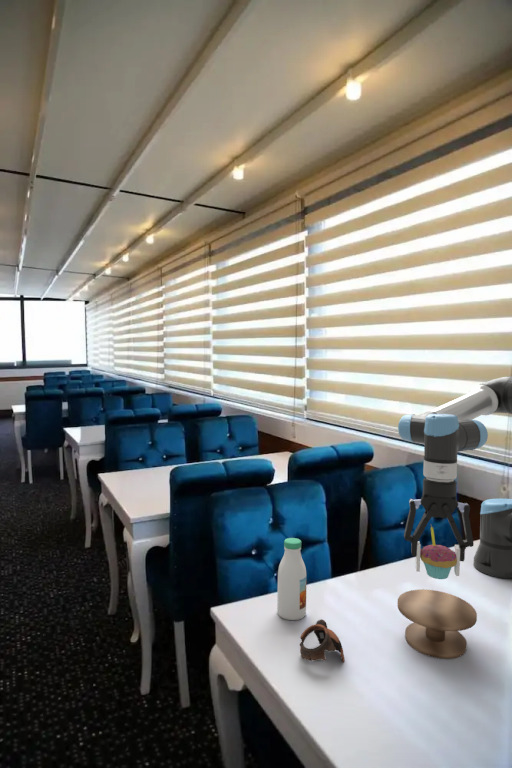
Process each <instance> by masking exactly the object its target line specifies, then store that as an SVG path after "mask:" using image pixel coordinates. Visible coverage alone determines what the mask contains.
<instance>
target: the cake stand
mask: <svg viewBox="0 0 512 768" xmlns="http://www.w3.org/2000/svg"><path fill="white" fill-rule="evenodd" d="M397 609H398V611H399V612H400V614H401V615H402V616H403V617H404V618H406V619H407V620H409V621H411V622H412V623H409V625H407V626H406V628H405V631H404V637H405V640H406V643H407V644H408V645H409V646H410V647H411V648H412V649H413V650H415V651H417V652H418V653H421V654H422V655H425V656H427V657H432V658H435V659H441V660H453V659H458V658H460V657H462V656H463V655H464V654H466V652H467V648H468V647H467V639H466V638H465V636H464V635H463V634H462V633H461V631H465V630H469V629H471V628H472V627H474V626H475V625H476V623H477V621H478V620H477V619H478V613H477V610H476V609H475V608H474V607H473V606H472V605H471V604H470V603H469V602H467V601H466V599H465V600H464V599H462V598H461V597H459V596H457V595H453V594H452V593H447V592H443V591H441V590H440V591H439V590H434V589H424V588H423V589H412V590H409V591H405V592H403V593H401V594H400V595H399V596H398V597H397Z"/></svg>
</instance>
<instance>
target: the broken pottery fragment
mask: <svg viewBox="0 0 512 768" xmlns="http://www.w3.org/2000/svg"><path fill="white" fill-rule="evenodd" d="M327 625H328V624H327V622H326V620H324V619H319V620H317V621H316V623H315V624H312V625H310V626H309V627H307V628H306V629H305V630H304V631H303V632H301V635H300V637H299V638H300V640H301V641H300V643H299V649H300V651H299V652H300V657H301V658H303V659H304V660H307V661H308V662H309V661H310V662H311V661H312V662H313V661H317V660H322V661H326V660H327V658H326V651H327V652H335V651H337V652H339V654H340V655H339V656H340V658H341V663H344V662H345V655H344V649H343V646H342V645H343V644H342V642H341V640H340V637H339V636H338V635H337V634H336V633H335V632H334V631H333V630H331V629H330V628H328V626H327ZM312 633H314V634H315V637H316V638H317V641H318V644H319V645H318V646H316V647H313V648H308V647H306V646H305V644H304V642H305V640H306V638H307V637H308V636H309V635H310V634H312Z"/></svg>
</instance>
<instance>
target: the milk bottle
mask: <svg viewBox="0 0 512 768" xmlns="http://www.w3.org/2000/svg"><path fill="white" fill-rule="evenodd" d="M283 547H284V548H283V549H284V552H283V553H284V554H283V556H282V558H281V560H280V563H279V565H278V570H277V595H276V597H277V599H276V600H277V602H276V603H277V605H276V607H277V608H276V609H277V611H276V612H277V614H278V616H279V617H280V618H282V619H284V620H287V621H298V620H302V619H303V618H304V617H305V615H306V614H307V569H306V565H305V562H304V560H303V558H302V552H301V550H302V540H301V539H299V538H295V537H288V538H285V540H284V542H283Z"/></svg>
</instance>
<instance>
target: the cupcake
mask: <svg viewBox="0 0 512 768" xmlns="http://www.w3.org/2000/svg"><path fill="white" fill-rule="evenodd" d="M430 534H431V543H432V544H428V545H425V546H422V548H420V561H421V562H422V563H423V564H424V565H423V566H424V567H425V572H426V574H427V576H428V577H430V578H431V579H432V578H433V579H437V580H445V579H447V578H449V575H450V573H451V570H452V568H454V566H455V565H456V564H457V559H456V554H455V551H454V550H452V549H451V548H449V547H447V546H445V545H442V544H436V538H435V531H434V527H433V526H432V524H430Z"/></svg>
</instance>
